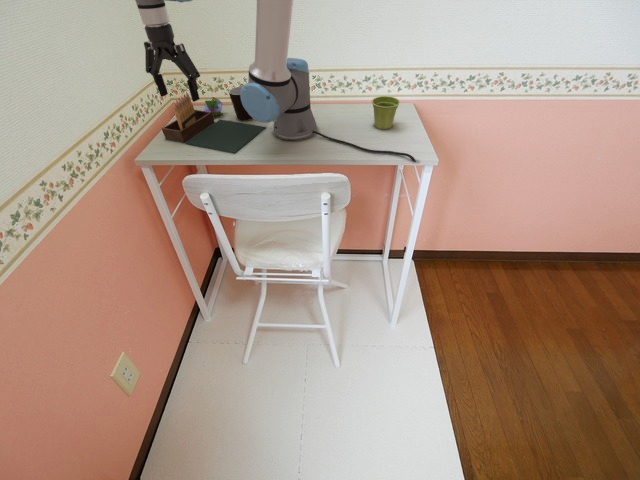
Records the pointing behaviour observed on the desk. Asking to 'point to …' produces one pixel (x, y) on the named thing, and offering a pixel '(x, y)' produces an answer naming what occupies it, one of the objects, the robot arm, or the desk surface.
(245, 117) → the coffee mug
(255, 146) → the desk surface
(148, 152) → the desk surface
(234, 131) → the desk mat
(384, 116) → the plant pot
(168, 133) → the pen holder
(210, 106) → the geometric puzzle
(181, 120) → the ammunition clip
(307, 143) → the desk surface
